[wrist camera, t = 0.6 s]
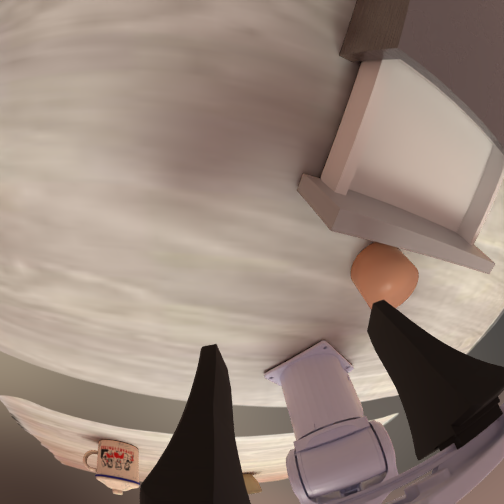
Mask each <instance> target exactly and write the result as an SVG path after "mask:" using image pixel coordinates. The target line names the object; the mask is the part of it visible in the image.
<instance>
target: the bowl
mask: <svg viewBox="0 0 504 504" xmlns="http://www.w3.org/2000/svg"><path fill="white" fill-rule="evenodd" d="M243 478H244V482H245V485H246V489H247V493H248V494H254V493H259V492H262V489H261V487H260V485H259V483H258V482H257V480H256V479H255V478H254V477H253V476H252V475H251V474H243Z"/></svg>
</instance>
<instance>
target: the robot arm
mask: <svg viewBox="0 0 504 504" xmlns="http://www.w3.org/2000/svg"><path fill="white" fill-rule="evenodd" d="M367 332H368V334H369V337H370V339H371V342H372V344H373V347H374V349H375V351H376V353H377V354H378V356H379V358H380V360H381V362H382V363H383V365H384V367H385V369H386V370H387V372H388V374H389V376H390V378H391V379H392V381H393V383H394V385H395V387H396V389H397V391H398V394H399V397H400V399H401V402H402V404H403V407H404V410H405V413H406V416H407V419H408V423H409V426H410V430H411V434H412V438H413V442H414V447H415V453H416V456H417V459H418V460H421V459H423V458H424V457H426V456H428V455H429V454H431V453H433V452H435V451H436V450H438V449H440V451H441V452H439V453H438V454H436V455H434V456H433V457H431V458H429V459H427V460H426V461H424V462H422V463H421V464H419V465H417V466H415V467H413V468H412V469H410V470H407V471H405V472H404V473H402V474H399V475H398V471H397V467H396V456H395V452H394V448H393V445H392V442H391V440H390V437H389V435H388V433H387V431H386V429H385V428H384V426H383V425H382V424H381V423H379V422H376V421H375V420H372V421H370V422H368V419H367V417H366V416H363V408H362V405H361V403H360V400H359V398H358V396H357V393H356V391H355V389H354V386H353V384H352V382H351V380H350V377H349V375H348V373H349V372H350V371H352V370H353V369H354V368H353V366H352V365H351V364H350V363H349V362H348V361H347V360H346V359H345V358H344V357H343V356H342V355H341V354H339V353H338V352H337V351H336V350H335V349H334V348H333V347H332V346H331V345H330V344H329V343H328V342H327V341H321V342H319V343H317V344H316V345H314V346H312V347H311V348H309V349H307V350H306V351H304V352H302V353H300V354H299V355H297V356H295V357H293V358H292V359H290V360H288V361H286V362H284V363H283V364H281V365H279V366H277V367H275V368H273V369H271V370H270V371H268V372H266V373H265V374H264V377H265V378H266V379H268V380H270V381H272V382H274V383H276V384H278V385H280V386H282V389H283V393H284V397H285V401H286V404H287V408H288V412H289V415H290V419H291V423H292V427H293V430H294V434H295V438H296V441H294V446H295V449H292V450H290V451H289V453H288V455H287V457H286V467H287V472H288V476H289V480H290V483H291V486H292V489H293V491H294V493H295V495H296V496H297V497H298V499H299V501H300V503H301V504H381V503H382V502H383V501H384V499H385V498H386V497H387V496H388V494H389V493H390V492H391V491H393V490H395V489H397V488H399V487H401V486H403V485H405V484H407V483H409V482H411V481H413V480H415V479H416V478H418V477H420V476H422V475H424V474H425V473H427V472H429V471H431V470H432V469H433V471H432V474H431V475H429V476H426V477H424V478H422V479H420V480H419V481H417V482H415V483H413V484H412V485H410V486H408V487H406V488H405V489H404V491H405V495H403V496H401V497H399V498H397V499H395V500H392V501H390V502H388V503H385V504H456V503H457V502H458V501H460V500H461V499H462V498H463V497H464V496H466V495H467V494H468V493H469V492H470V491H471V490H472V489H473V488H475V486H477V485H478V484H479V483H480V482H481V481H482V480H483V479H484V478H485V477H486V476H487V475H488V474H489V473H490V472H491V471H492V470H493V469H494V468H495V467H496V466H497V465H498V464H499V463H500V462H501V460H502V459H503V458H504V403H503V404H502V405H501V406H500V407H499V405H498V403H499V402H500V400H499V398H498V395H499V394H500V393H501V392H502V391H503V390H504V367H501V366H497V365H494V364H490V363H487V362H484V361H481V360H478V359H475V358H473V357H471V356H468V355H466V354H464V353H462V352H460V351H458V350H456V349H454V348H452V347H450V346H448V345H446V344H445V343H443V342H441V341H440V340H438V339H436V338H435V337H433V336H432V335H430V334H429V333H427V332H426V331H425V330H423V329H422V328H420V327H419V326H418V325H416V324H415V323H414V322H412V321H411V320H410V319H408V318H407V317H406V316H405V315H403V314H402V313H401V312H399V311H398V310H397V309H396V308H394V307H393V306H392V305H390V304H389V303H388V302H386V301H385V300H384V299H383V300H381V301H378V302H375V303H373V304H372V310H371V315H370V320H369V325H368V330H367ZM140 504H251V503H250V500H249V496H248V493H247V489H246V485H245V482H244V478H243V474H242V469H241V465H240V460H239V456H238V451H237V446H236V441H235V434H234V423H233V410H232V395H231V386H230V380H229V375H228V369H227V367H226V364H225V362H224V360H223V358H222V356H221V353H220V351H219V349H218V347H217V344H214V345H209V346H203V347H202V348H201V352H200V358H199V363H198V367H197V371H196V375H195V379H194V382H193V385H192V389H191V392H190V395H189V398H188V401H187V404H186V407H185V409H184V412H183V415H182V417H181V419H180V422H179V424H178V426H177V428H176V431H175V432H174V434H173V436H172V438H171V440H170V442H169V444H168V446H167V448H166V449H165V451H164V453H163V454H162V456H161V457H160V459H159V461H158V462H157V464H156V465H155V467H154V468H153V470H152V471H151V472H150V474H149V475H148V476H147V477H146V479H145V480H144V481H143V483H142V484H141V488H140Z"/></svg>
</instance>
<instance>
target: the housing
mask: <svg viewBox="0 0 504 504" xmlns="http://www.w3.org/2000/svg"><path fill="white" fill-rule="evenodd" d="M339 56H341V57H343V58H345V59H347V60H349V61H351V62H359V61H371V60H389V59H401V60H402V61H404V62H405V63H407V64H408V65H409V66H411V67H412V68H414V69H415V70H416V71H418V72H419V73H420V74H422V75H423V76H424V77H425V78H427V79H428V80H429V81H430V82H432V83H433V84H434V85H435V86H437V87H438V88H439V89H440V90H441V91H442V92H444V93H445V94H446V95H447V96H448V97H449V98H450V99H451V100H453V101H454V102H455V103H456V104H457V105H458V106H459V107H460V108H461V109H462V110H463V111H464V112H465V113H466V114H467V115H468V116H469V117H470V118H471V119H472V120H473V121H474V122H475V123H476V124H477V125H478V126H479V127H480V128H481V129H482V130H483V131H484V133H485V134H486V135H487V136H488V137H489V138H490V139H491V140H492V142H493V143H494V144H495V145H496V146H497V148H498V149H499V150H500V151H501V152H502V154H503V155H504V0H357V3H356V6H355V9H354V12H353V15H352V18H351V21H350V24H349V27H348V31H347V34H346V37H345V40H344V43H343V46H342V49H341V52H340V55H339Z"/></svg>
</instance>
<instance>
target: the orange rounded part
mask: <svg viewBox="0 0 504 504" xmlns="http://www.w3.org/2000/svg"><path fill="white" fill-rule="evenodd" d="M418 277H419V275H418V270H417V268H416V267H415V266H414V265H413V264H412V263H411V262H410V261H409V260H408V258H407V257H406V256H405V255H404V254H403V253H402V252H401V251H400V250H399V249H398V248H397V247H394V246H390V245H386V244H382V243H379V242H375V243H372V244H370V245H369V246H367V247H366V248H365V249H363V250H362V251H361V252H360V253H359V255H358V256H357V257H356V259H355V260H354V262H353V265H352V268H351V279H352V281H353V283H354V284H355V286H356V287H357V289H358V290H359V292H360V293H361V295H362V296H363V298H364V299H365V301H366V302H367V304H368V305H369V307H370V308H371V310H372V304H373V303H375V302H378V301H381V300H383V299H384V300H385V301H386V302H388V303H389V304H390V305H392V306H393V307H394V308H396V307H398V306H399V305H401V304H402V303H403V302H404V301H405V300H407V298H408V297H409V296H410V295H411V294H412V292H413V291H414V289H415V287H416V285H417V282H418Z"/></svg>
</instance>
